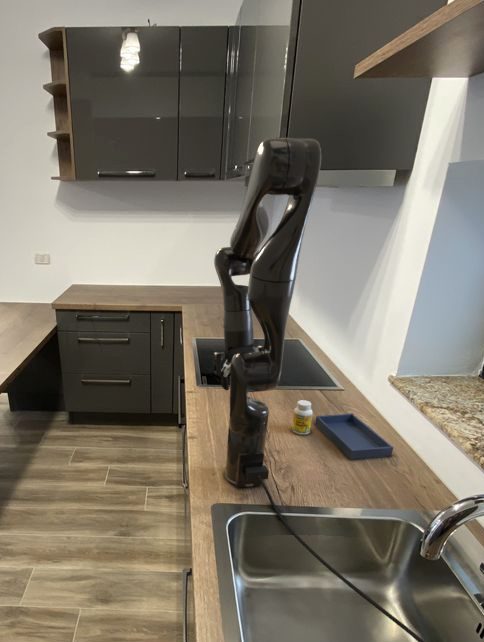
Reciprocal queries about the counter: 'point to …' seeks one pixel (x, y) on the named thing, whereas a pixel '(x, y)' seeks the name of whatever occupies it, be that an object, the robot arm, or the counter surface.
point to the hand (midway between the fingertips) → (240, 387)
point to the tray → (353, 436)
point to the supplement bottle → (302, 418)
